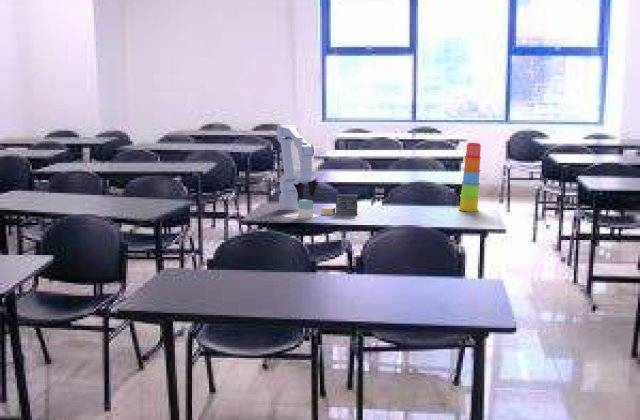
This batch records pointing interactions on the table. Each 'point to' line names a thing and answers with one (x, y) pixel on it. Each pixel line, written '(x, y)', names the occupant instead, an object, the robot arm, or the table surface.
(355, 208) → the small box
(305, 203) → the teal brick
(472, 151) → the stacking cups
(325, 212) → the mustard brick
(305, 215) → the white brick
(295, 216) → the building board
